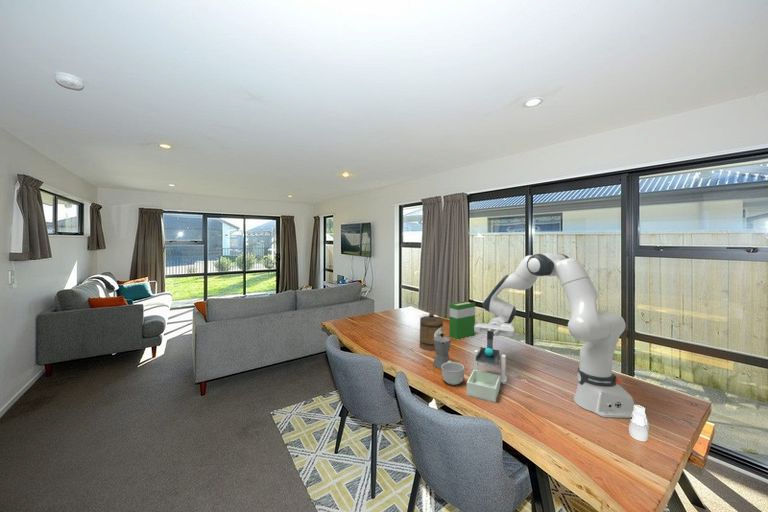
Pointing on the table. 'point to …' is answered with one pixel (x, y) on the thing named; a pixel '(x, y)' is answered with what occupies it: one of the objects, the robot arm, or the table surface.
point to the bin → (483, 385)
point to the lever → (483, 357)
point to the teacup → (452, 372)
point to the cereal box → (462, 319)
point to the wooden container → (430, 330)
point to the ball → (488, 351)
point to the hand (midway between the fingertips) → (491, 334)
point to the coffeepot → (441, 350)
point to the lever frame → (502, 376)
